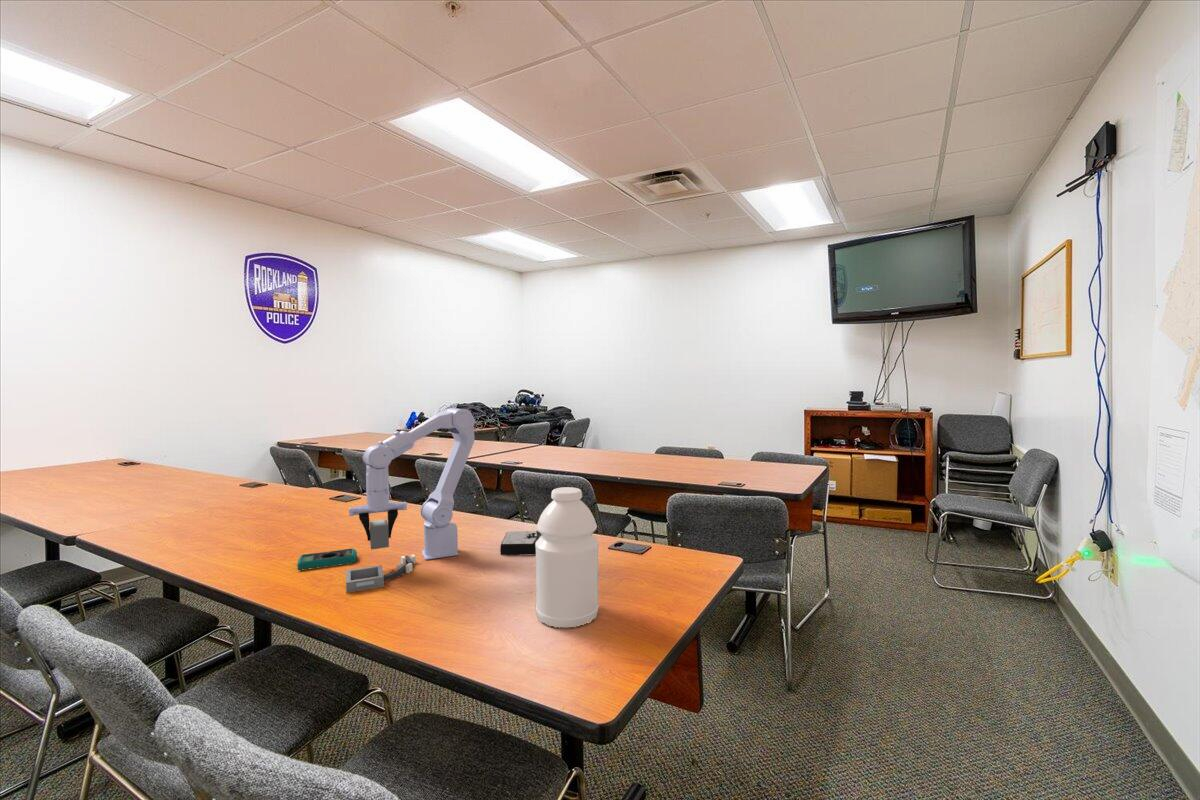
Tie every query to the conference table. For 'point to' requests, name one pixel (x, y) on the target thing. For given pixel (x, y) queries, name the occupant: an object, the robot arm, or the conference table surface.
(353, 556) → the digital multimeter
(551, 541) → the bottle
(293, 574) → the conference table surface
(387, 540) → the connector block
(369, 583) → the frame
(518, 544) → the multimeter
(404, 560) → the routed cable
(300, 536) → the conference table surface
